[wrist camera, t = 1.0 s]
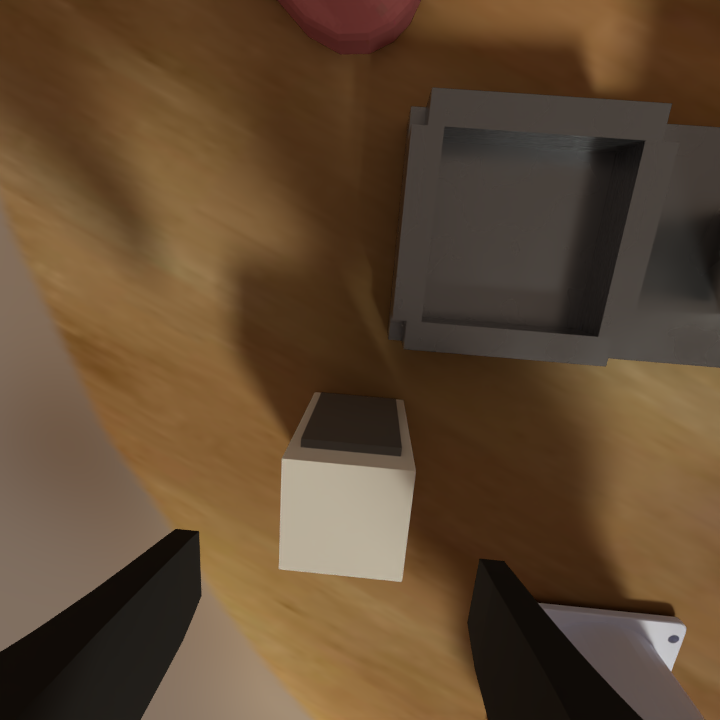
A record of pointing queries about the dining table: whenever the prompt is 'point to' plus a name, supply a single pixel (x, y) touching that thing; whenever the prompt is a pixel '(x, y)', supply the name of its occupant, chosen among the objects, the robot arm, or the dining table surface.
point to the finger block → (347, 488)
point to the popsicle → (352, 22)
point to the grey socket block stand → (557, 231)
